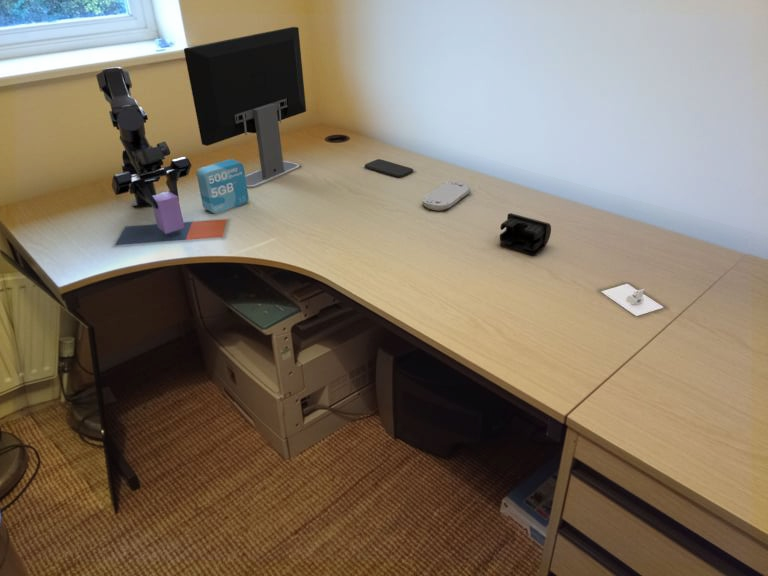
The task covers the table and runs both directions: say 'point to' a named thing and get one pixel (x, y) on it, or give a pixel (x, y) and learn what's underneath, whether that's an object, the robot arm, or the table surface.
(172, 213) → the block
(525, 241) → the end cap
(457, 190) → the game console
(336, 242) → the table surface
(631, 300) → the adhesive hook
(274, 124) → the computer monitor
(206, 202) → the data package
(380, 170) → the phone
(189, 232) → the mat
